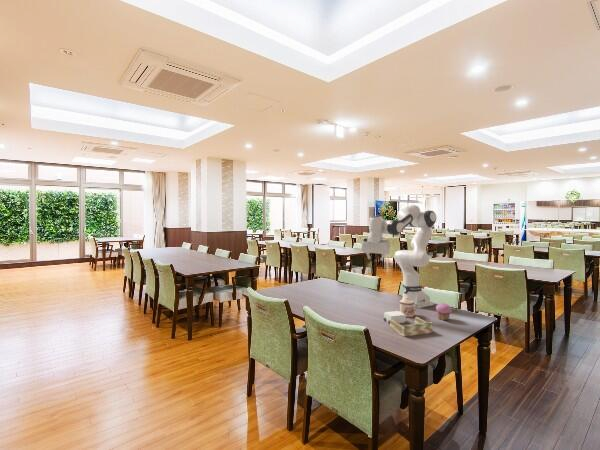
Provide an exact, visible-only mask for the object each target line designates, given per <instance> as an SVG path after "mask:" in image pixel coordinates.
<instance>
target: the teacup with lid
mask: <svg viewBox="0 0 600 450" xmlns="http://www.w3.org/2000/svg"><path fill="white" fill-rule="evenodd" d="M414 305H416V307H414ZM417 307H418V306H417V304H415V303H414V301H412V300H410V299H408V297H405V299H403V300H402V299H400V300H399V312H401V313H403V314H405V315H406V318H412V317H414V316H415V312H416V311H417V310H418V308H417Z"/></svg>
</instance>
